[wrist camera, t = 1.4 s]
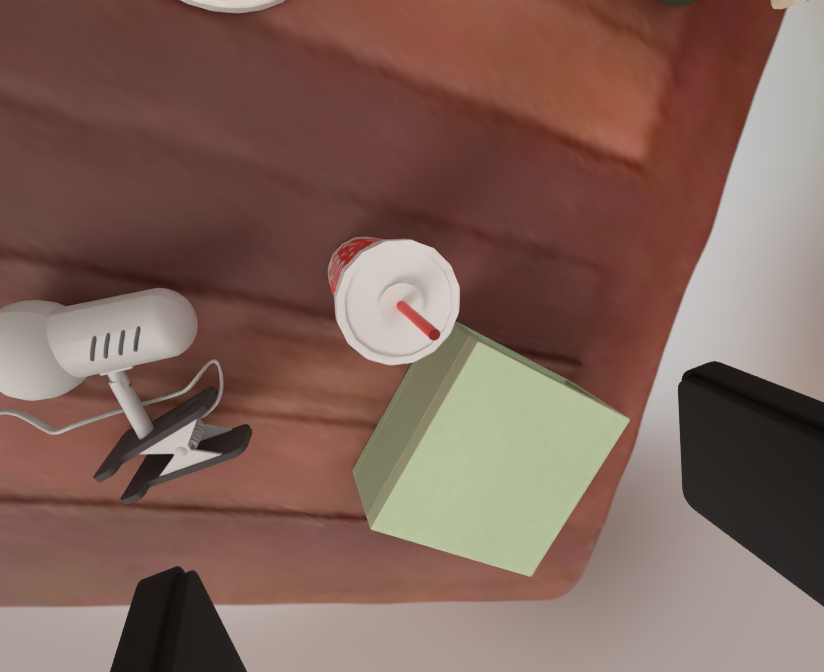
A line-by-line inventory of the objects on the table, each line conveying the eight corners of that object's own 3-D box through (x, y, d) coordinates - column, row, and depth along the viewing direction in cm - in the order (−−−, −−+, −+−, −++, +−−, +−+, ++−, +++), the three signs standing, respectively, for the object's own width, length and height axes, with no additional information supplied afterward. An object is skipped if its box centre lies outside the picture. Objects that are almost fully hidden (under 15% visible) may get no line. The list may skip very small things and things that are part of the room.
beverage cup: (346, 204, 30) (411, 221, 17) (426, 255, 33) (535, 303, 20) (297, 290, 31) (323, 368, 18) (379, 334, 33) (454, 431, 20)
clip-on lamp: (-9, 486, 32) (264, 428, 32) (-91, 571, 26) (242, 501, 26) (-132, 324, 27) (193, 253, 27) (-267, 385, 21) (147, 296, 21)
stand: (439, 312, 34) (478, 340, 28) (573, 382, 39) (631, 419, 33) (351, 470, 36) (370, 529, 30) (490, 518, 41) (531, 577, 34)
